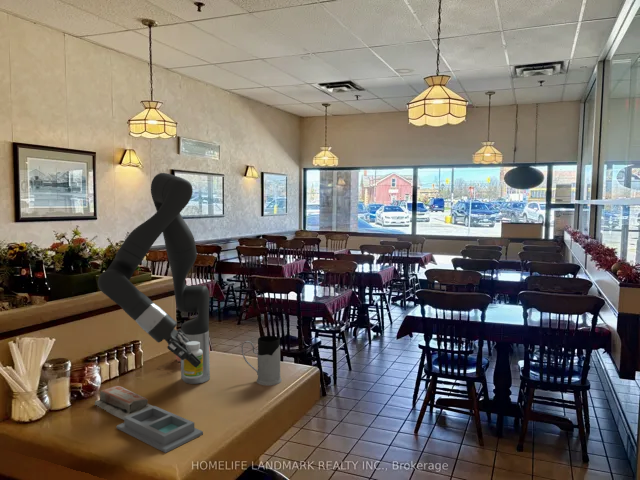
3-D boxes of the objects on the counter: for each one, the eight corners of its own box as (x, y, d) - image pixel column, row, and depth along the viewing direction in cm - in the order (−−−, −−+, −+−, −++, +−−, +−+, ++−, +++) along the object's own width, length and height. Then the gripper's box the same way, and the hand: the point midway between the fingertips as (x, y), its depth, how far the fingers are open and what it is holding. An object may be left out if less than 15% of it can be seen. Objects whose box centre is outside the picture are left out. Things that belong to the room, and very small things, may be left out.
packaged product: (92, 391, 152) (122, 381, 160) (93, 406, 152) (123, 396, 160) (124, 406, 141) (155, 395, 149) (125, 422, 141) (155, 410, 149)
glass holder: (278, 386, 167) (277, 343, 165) (238, 383, 169) (237, 340, 168) (284, 376, 175) (284, 335, 174) (246, 374, 178) (245, 333, 176)
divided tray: (116, 428, 137) (116, 417, 137) (153, 412, 146) (153, 402, 146) (165, 452, 124) (165, 440, 124) (202, 434, 133) (202, 422, 133)
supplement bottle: (197, 379, 140) (197, 346, 140) (180, 378, 141) (179, 345, 141) (206, 373, 146) (205, 340, 145) (189, 371, 147) (188, 339, 146)
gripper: (161, 318, 134) (207, 360, 137) (169, 307, 148) (210, 344, 151) (141, 338, 133) (187, 379, 136) (151, 325, 148) (193, 362, 150)
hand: (199, 361), depth 143 cm, fingers closed on supplement bottle, 5 cm apart
